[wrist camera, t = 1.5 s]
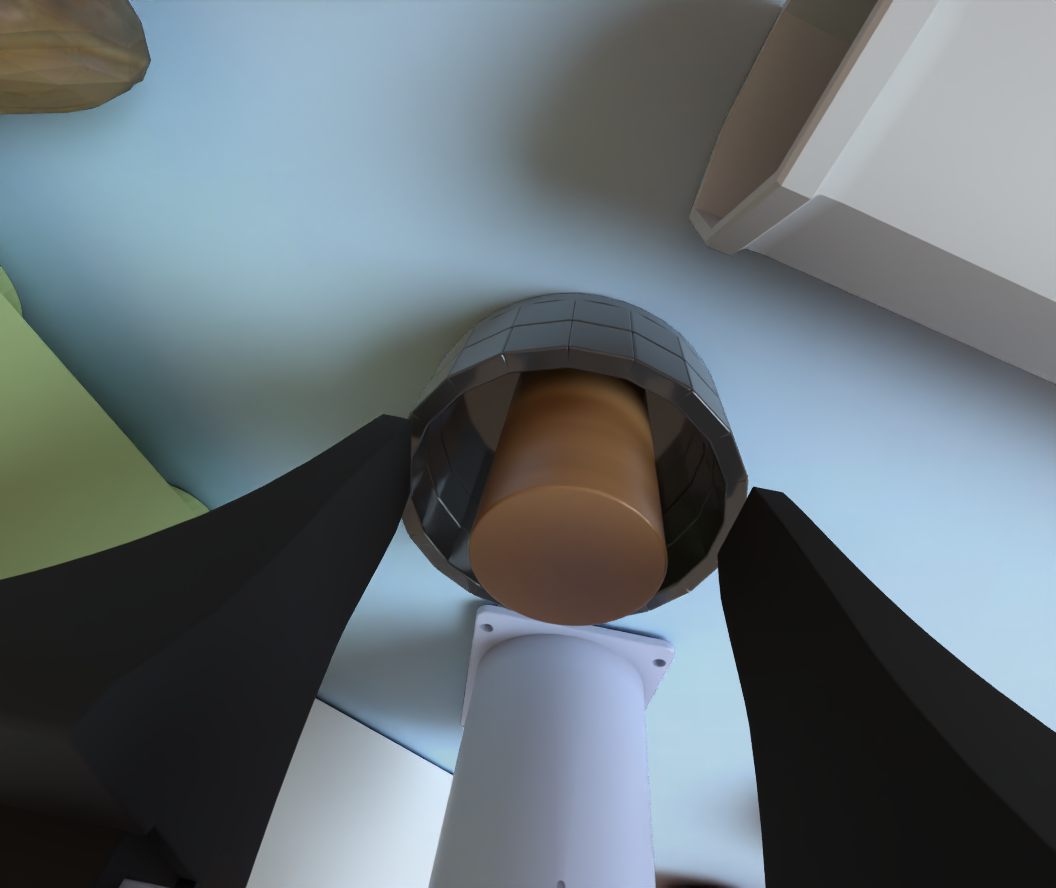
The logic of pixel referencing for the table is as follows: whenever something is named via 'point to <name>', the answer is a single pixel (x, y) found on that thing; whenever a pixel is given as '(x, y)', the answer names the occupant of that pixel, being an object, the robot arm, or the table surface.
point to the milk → (352, 811)
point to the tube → (903, 163)
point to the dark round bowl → (588, 345)
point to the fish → (68, 54)
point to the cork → (572, 502)
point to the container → (66, 462)
